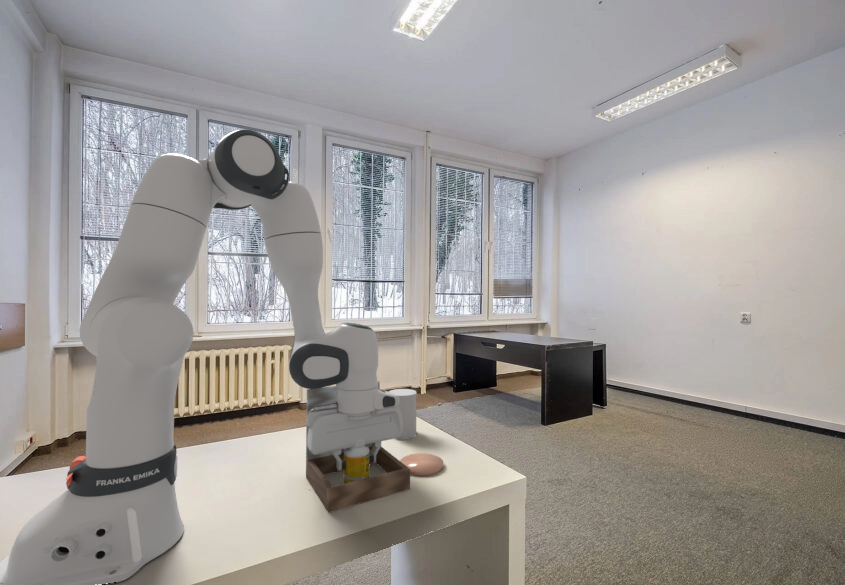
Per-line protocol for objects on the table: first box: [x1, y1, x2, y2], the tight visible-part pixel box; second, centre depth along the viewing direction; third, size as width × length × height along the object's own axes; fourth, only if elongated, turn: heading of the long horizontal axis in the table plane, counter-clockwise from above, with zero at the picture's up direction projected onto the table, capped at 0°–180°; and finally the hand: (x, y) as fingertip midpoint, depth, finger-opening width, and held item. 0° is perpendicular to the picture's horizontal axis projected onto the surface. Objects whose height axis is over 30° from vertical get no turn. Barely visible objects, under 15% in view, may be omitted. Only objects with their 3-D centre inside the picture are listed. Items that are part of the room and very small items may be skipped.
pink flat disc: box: [399, 452, 444, 477], centre depth 89 cm, size 10×10×1 cm
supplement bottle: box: [343, 439, 370, 484], centre depth 81 cm, size 5×5×10 cm
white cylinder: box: [388, 388, 417, 440], centre depth 110 cm, size 8×8×12 cm
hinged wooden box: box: [305, 380, 411, 513], centre depth 81 cm, size 17×16×19 cm
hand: (356, 465), depth 81 cm, fingers closed on supplement bottle, 5 cm apart
